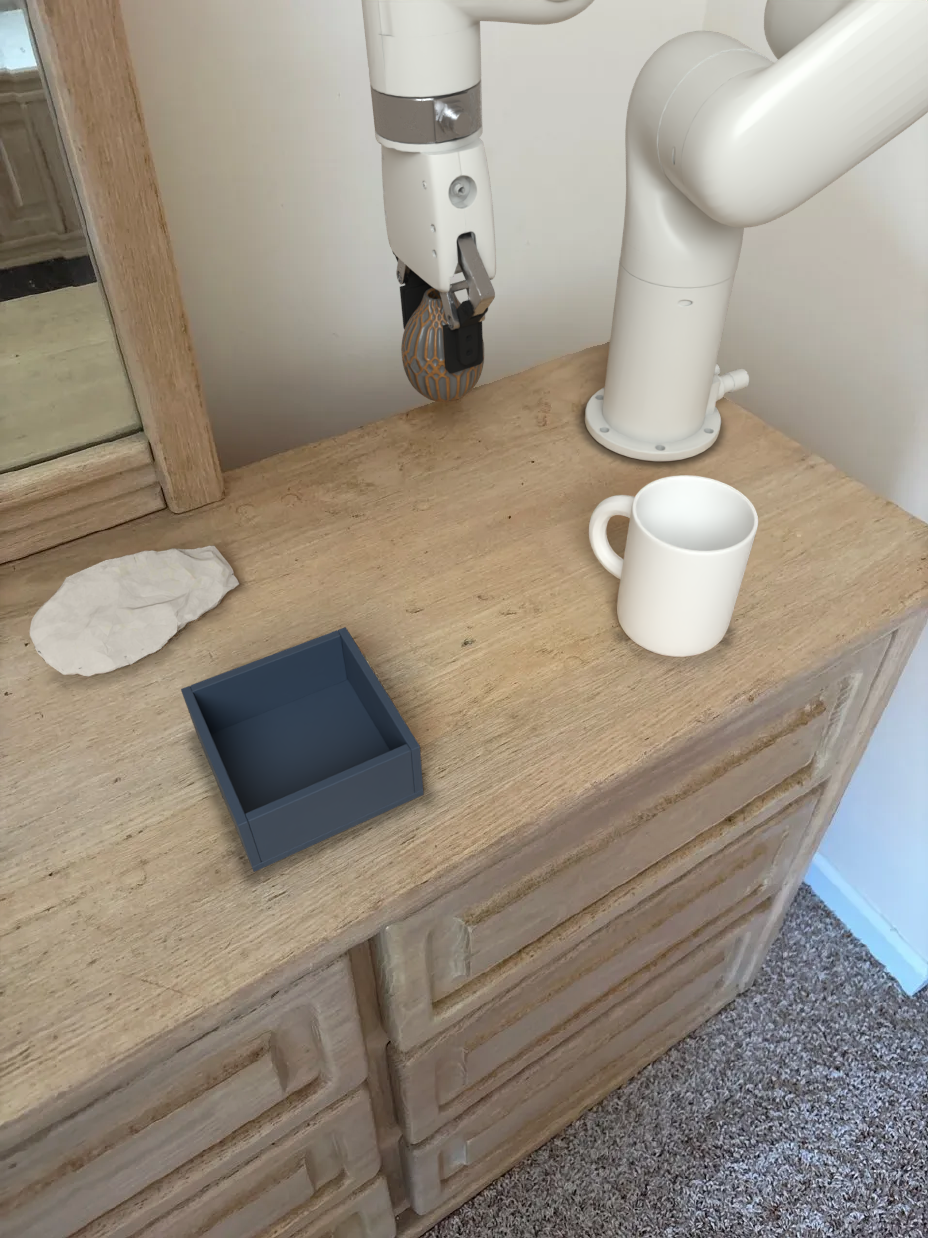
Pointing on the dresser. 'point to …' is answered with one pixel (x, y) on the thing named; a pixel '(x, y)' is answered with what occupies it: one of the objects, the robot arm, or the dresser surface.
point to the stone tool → (127, 608)
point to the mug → (677, 561)
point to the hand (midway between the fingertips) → (442, 345)
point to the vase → (433, 353)
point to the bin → (304, 745)
